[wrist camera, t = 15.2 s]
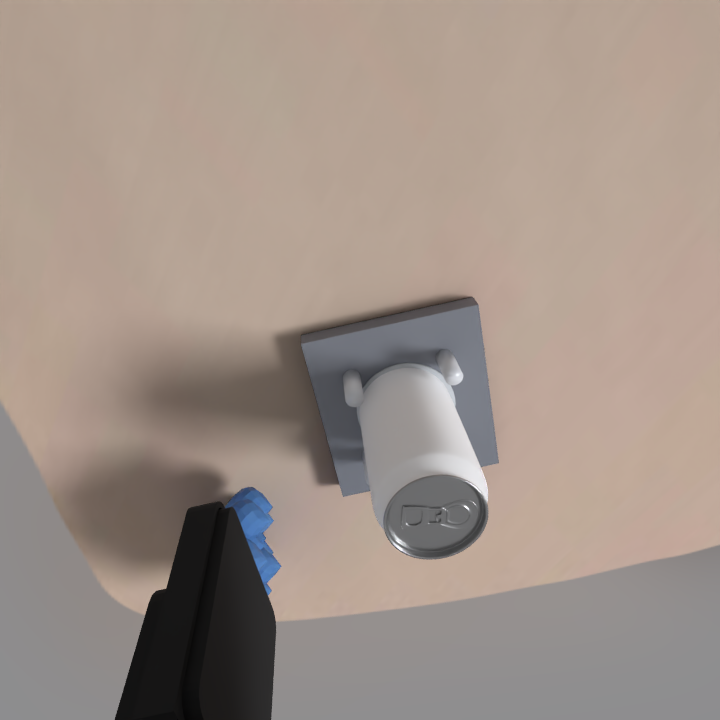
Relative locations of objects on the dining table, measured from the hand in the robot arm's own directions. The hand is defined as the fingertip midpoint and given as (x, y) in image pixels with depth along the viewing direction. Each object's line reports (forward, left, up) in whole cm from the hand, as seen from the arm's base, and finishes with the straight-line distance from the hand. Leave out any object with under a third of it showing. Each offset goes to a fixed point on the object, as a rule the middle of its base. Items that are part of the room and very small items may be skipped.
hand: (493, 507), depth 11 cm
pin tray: (+15, 0, -30) cm, 34 cm away
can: (+15, 0, -29) cm, 32 cm away
